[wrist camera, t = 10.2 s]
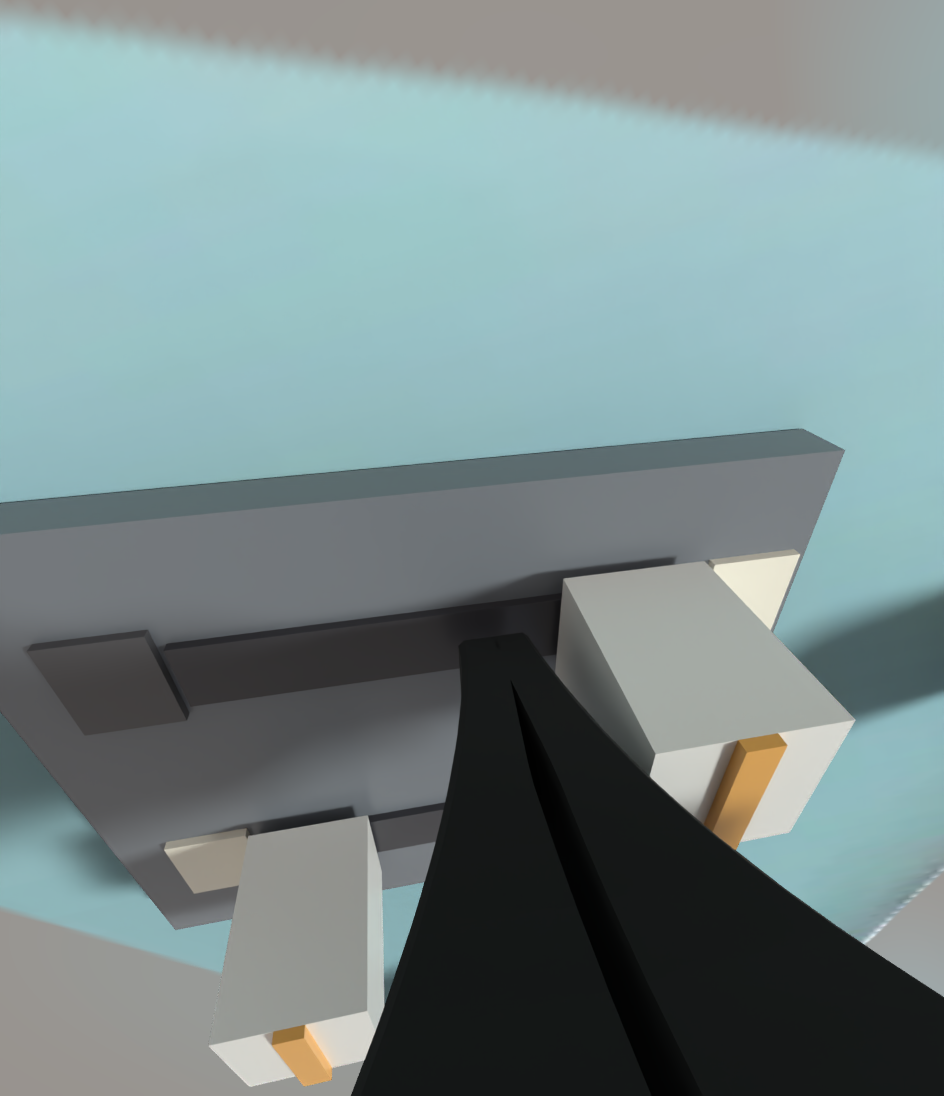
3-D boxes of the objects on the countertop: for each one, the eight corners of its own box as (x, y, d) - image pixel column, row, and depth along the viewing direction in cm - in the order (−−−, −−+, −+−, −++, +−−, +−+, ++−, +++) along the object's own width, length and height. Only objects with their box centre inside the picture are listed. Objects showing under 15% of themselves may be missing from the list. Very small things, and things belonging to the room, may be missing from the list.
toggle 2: (676, 664, 12) (797, 843, 9) (554, 682, 12) (630, 878, 8) (704, 561, 11) (866, 731, 7) (563, 578, 10) (662, 767, 7)
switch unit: (677, 797, 19) (698, 835, 18) (186, 887, 17) (173, 937, 16) (803, 428, 11) (852, 453, 10) (-77, 510, 9) (-142, 554, 8)
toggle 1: (381, 871, 15) (385, 1067, 12) (275, 891, 15) (247, 1099, 11) (367, 815, 14) (367, 1023, 10) (248, 835, 13) (205, 1060, 10)
